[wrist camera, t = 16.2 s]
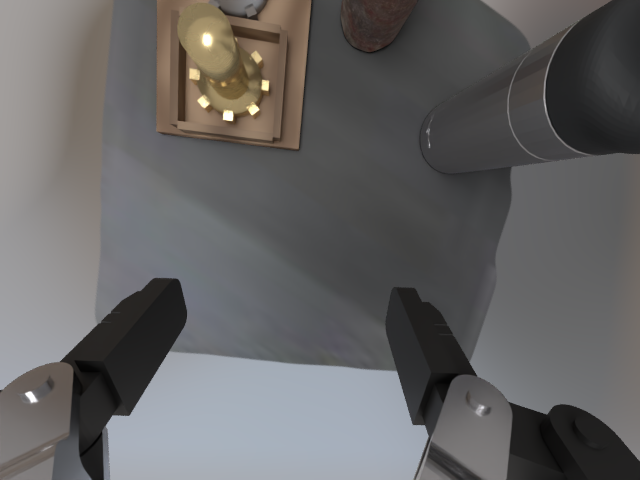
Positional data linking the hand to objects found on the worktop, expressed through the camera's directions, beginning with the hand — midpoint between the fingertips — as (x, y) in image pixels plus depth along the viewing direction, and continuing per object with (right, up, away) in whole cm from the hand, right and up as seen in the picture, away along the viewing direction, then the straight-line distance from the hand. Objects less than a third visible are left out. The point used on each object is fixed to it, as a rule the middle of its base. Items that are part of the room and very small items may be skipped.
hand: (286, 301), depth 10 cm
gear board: (-8, +24, +20) cm, 32 cm away
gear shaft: (-9, +20, +20) cm, 29 cm away
